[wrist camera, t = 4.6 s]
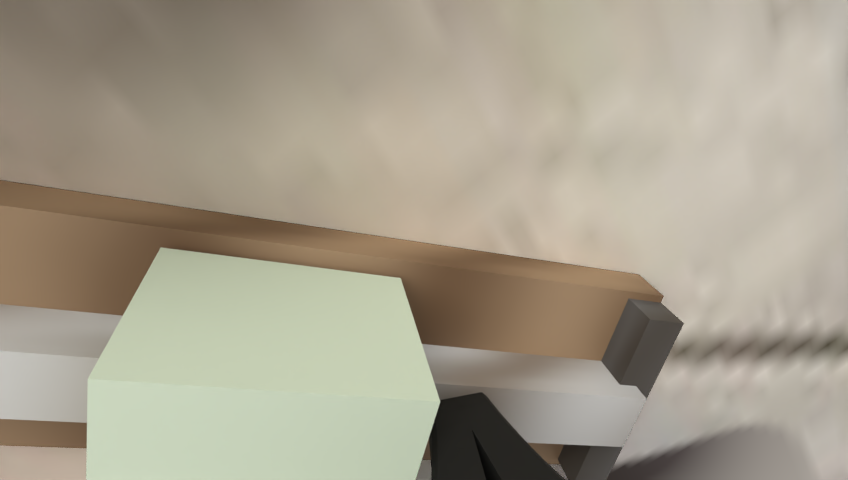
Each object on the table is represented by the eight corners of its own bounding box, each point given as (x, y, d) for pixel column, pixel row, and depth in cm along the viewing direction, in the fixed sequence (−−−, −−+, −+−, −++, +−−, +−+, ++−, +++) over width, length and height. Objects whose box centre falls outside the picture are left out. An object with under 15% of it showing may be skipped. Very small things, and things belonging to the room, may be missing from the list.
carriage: (400, 278, 12) (443, 410, 8) (354, 457, 14) (371, 630, 10) (160, 247, 11) (82, 388, 7) (146, 450, 13) (79, 645, 9)
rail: (639, 274, 15) (813, 427, 10) (567, 436, 18) (680, 630, 12) (-596, 92, 9) (-1933, 252, 4) (-463, 384, 11) (-1168, 750, 6)
